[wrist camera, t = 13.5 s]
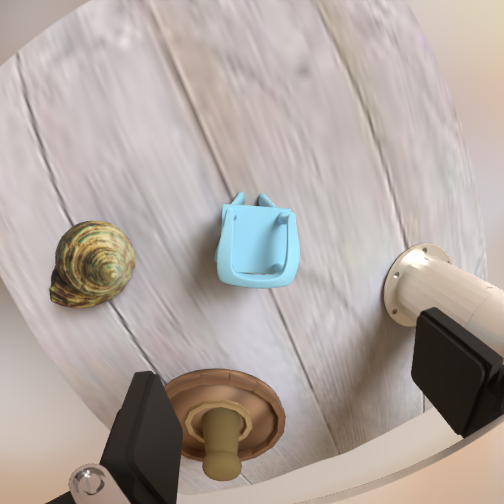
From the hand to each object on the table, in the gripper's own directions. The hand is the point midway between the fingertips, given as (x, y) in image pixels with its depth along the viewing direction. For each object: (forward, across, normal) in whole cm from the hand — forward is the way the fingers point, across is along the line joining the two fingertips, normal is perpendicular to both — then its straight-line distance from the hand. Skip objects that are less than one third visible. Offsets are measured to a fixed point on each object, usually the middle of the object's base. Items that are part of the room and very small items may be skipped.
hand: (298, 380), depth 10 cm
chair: (+27, 0, 0) cm, 27 cm away
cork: (+26, +9, +28) cm, 39 cm away
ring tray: (+27, +10, +28) cm, 40 cm away
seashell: (+27, +18, -1) cm, 33 cm away
